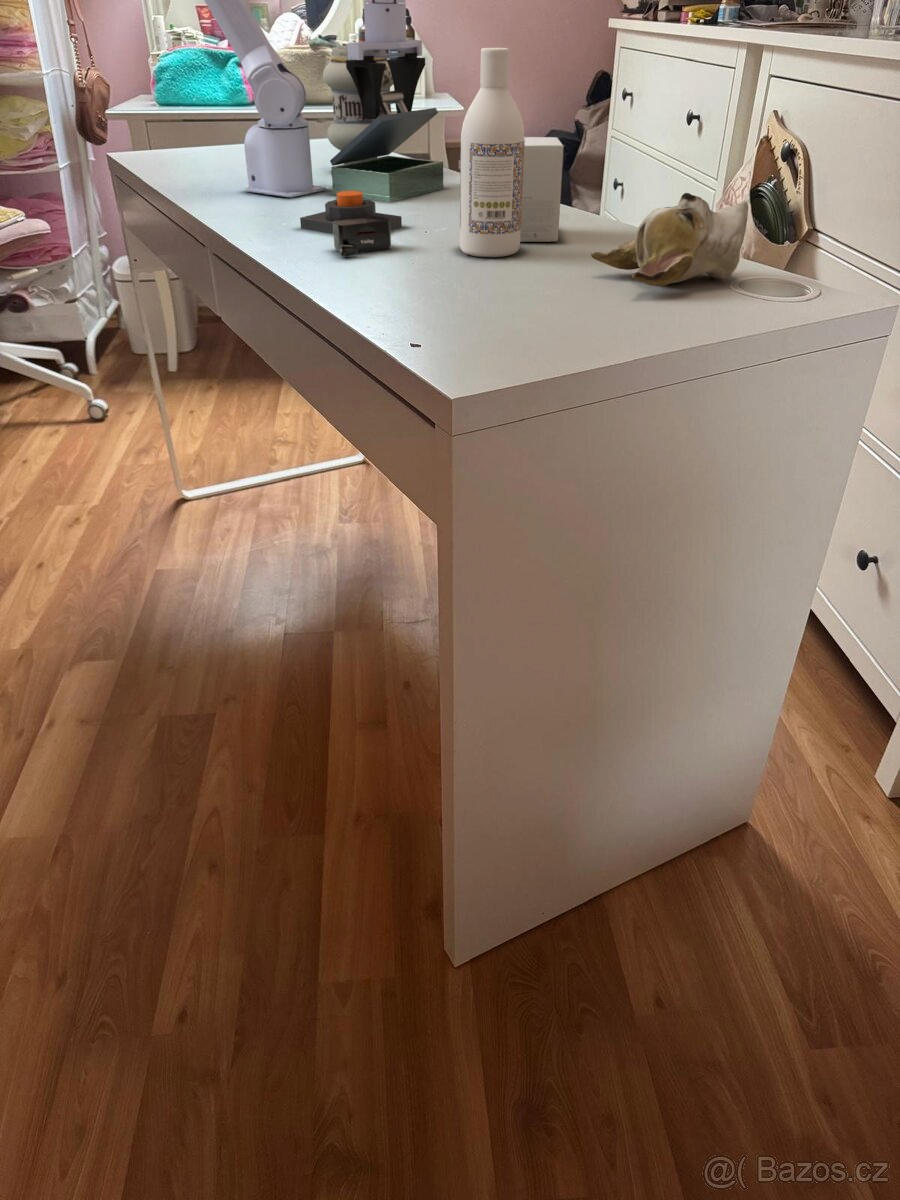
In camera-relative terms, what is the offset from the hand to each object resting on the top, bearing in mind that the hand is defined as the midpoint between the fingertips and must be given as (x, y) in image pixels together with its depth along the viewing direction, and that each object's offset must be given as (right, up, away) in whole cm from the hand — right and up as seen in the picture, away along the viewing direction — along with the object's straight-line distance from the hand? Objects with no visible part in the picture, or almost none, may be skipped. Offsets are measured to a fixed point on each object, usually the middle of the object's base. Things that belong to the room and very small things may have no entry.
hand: (388, 116), depth 129 cm
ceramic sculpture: (+32, -37, -37) cm, 61 cm away
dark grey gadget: (-1, -30, -27) cm, 40 cm away
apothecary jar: (-5, +2, +22) cm, 23 cm away
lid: (0, -2, +2) cm, 3 cm away
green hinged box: (0, -8, +6) cm, 10 cm away
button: (-4, -21, -17) cm, 27 cm away
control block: (-4, -23, -16) cm, 28 cm away
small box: (+19, -25, -19) cm, 37 cm away
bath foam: (+14, -30, -26) cm, 42 cm away
